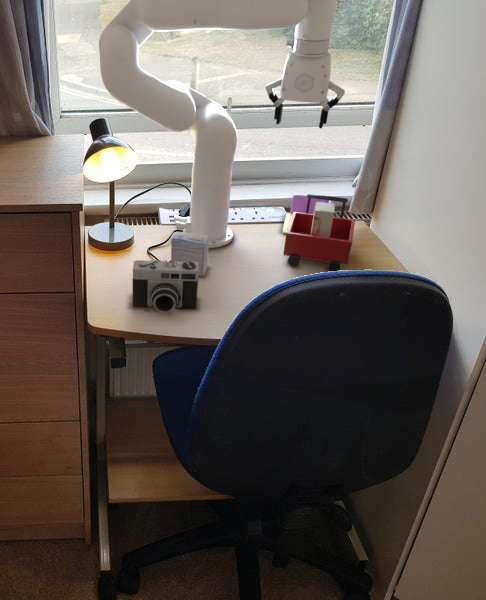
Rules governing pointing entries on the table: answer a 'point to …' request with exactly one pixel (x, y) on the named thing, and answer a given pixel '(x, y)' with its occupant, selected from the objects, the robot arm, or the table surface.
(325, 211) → the white carton box
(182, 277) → the camera
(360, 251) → the table surface
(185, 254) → the medicine box
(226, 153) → the robot arm
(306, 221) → the cart
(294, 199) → the miniature room corner
